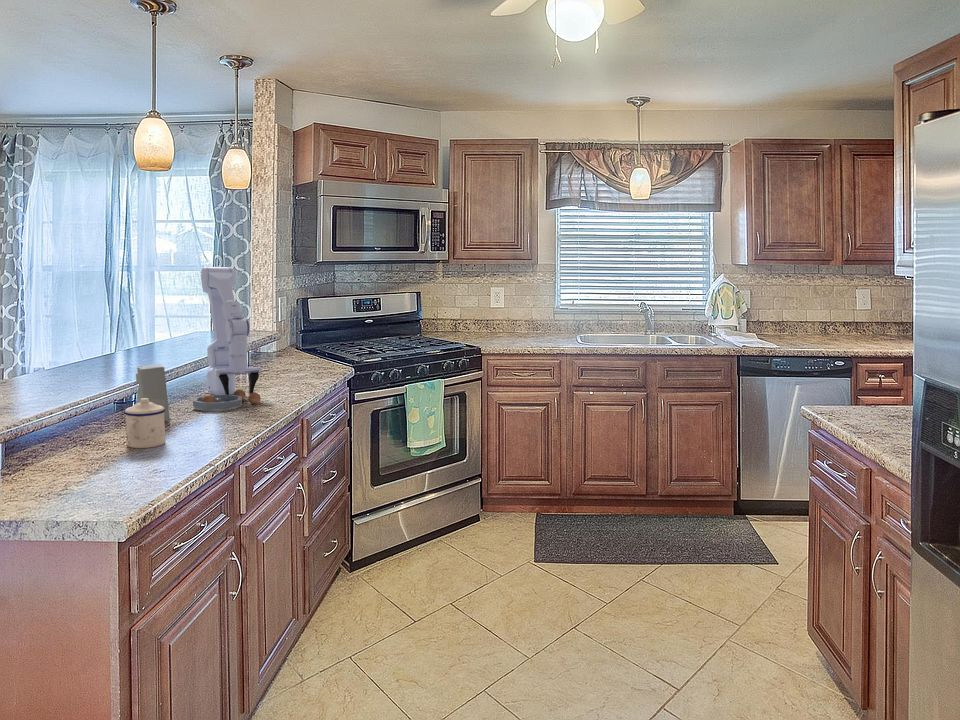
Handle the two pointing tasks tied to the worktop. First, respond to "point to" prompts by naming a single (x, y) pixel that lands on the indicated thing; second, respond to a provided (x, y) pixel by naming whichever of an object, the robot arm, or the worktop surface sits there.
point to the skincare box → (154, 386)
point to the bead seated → (208, 398)
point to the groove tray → (218, 403)
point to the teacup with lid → (145, 425)
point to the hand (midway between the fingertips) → (239, 395)
